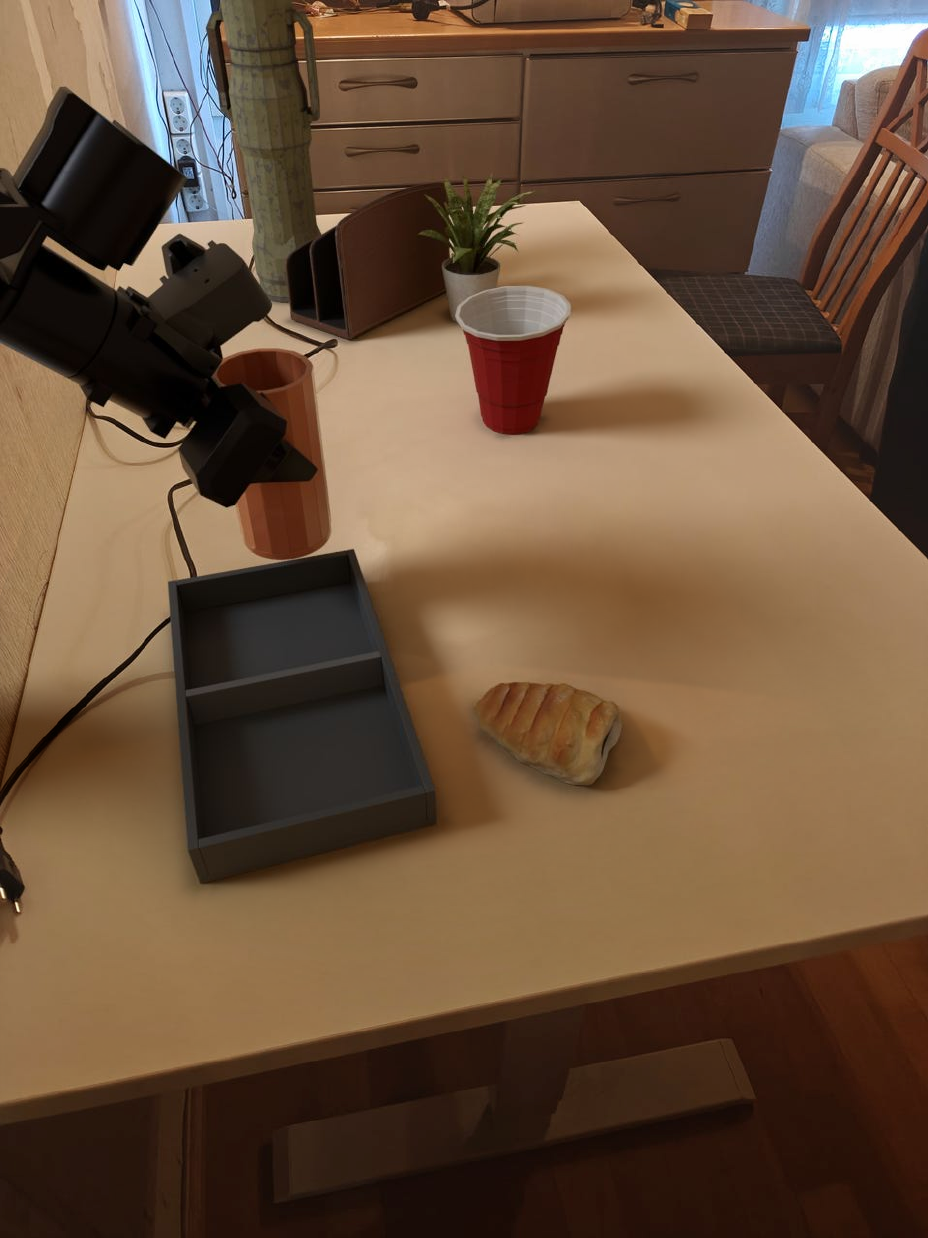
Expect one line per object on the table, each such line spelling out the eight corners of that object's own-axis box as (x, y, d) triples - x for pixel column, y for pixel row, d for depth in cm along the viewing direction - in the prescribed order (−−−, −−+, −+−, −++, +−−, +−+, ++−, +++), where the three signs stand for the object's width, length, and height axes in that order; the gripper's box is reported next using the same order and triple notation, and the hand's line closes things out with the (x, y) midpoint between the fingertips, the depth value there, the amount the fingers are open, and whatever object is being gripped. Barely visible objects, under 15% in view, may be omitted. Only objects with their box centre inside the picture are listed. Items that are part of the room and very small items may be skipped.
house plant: (523, 348, 101) (530, 199, 90) (407, 340, 103) (400, 192, 92) (535, 300, 112) (543, 161, 101) (429, 293, 113) (426, 156, 103)
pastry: (458, 750, 57) (458, 710, 54) (497, 682, 61) (499, 643, 59) (595, 798, 54) (602, 759, 51) (626, 724, 59) (634, 684, 56)
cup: (237, 561, 62) (201, 394, 53) (249, 509, 67) (219, 348, 58) (328, 559, 62) (307, 392, 54) (334, 507, 67) (316, 347, 58)
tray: (200, 884, 49) (187, 850, 47) (177, 615, 67) (167, 581, 64) (437, 824, 52) (435, 790, 50) (357, 582, 70) (353, 548, 67)
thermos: (256, 275, 118) (205, -48, 95) (342, 277, 118) (313, -47, 94) (240, 301, 111) (181, -40, 88) (331, 303, 111) (297, -39, 88)
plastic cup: (437, 409, 91) (435, 295, 83) (527, 387, 94) (533, 275, 86) (487, 459, 83) (490, 339, 75) (582, 432, 87) (594, 315, 79)
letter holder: (451, 290, 114) (451, 174, 105) (350, 342, 103) (338, 216, 93) (393, 273, 119) (388, 160, 109) (289, 321, 107) (273, 199, 98)
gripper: (221, 263, 42) (428, 414, 53) (121, 167, 53) (308, 308, 65) (98, 450, 44) (322, 556, 55) (28, 318, 56) (225, 428, 67)
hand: (294, 451), depth 61 cm, fingers closed on cup, 6 cm apart
